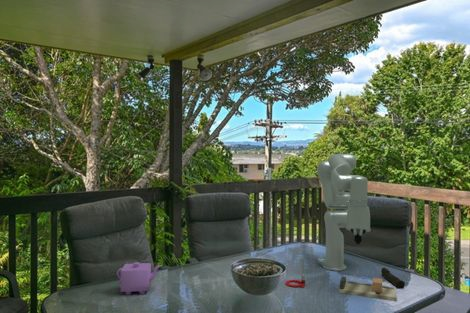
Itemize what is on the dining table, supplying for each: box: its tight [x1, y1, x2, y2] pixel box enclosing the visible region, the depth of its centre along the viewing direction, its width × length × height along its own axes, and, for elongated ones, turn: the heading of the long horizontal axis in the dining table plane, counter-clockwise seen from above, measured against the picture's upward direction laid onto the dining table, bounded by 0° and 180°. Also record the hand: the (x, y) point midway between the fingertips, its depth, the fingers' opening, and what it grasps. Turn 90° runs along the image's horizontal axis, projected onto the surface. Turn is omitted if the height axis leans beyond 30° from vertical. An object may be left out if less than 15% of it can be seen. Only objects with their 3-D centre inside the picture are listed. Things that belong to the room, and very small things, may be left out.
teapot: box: [116, 261, 163, 295], centre depth 161 cm, size 20×10×12 cm, turn 97°
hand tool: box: [381, 267, 406, 290], centre depth 175 cm, size 19×4×5 cm, turn 1°
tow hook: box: [285, 257, 306, 288], centre depth 170 cm, size 8×13×9 cm
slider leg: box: [371, 277, 383, 293], centre depth 159 cm, size 4×7×4 cm, turn 157°
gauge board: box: [337, 276, 398, 302], centre depth 161 cm, size 24×12×4 cm, turn 67°
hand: (358, 243), depth 163 cm, fingers closed
